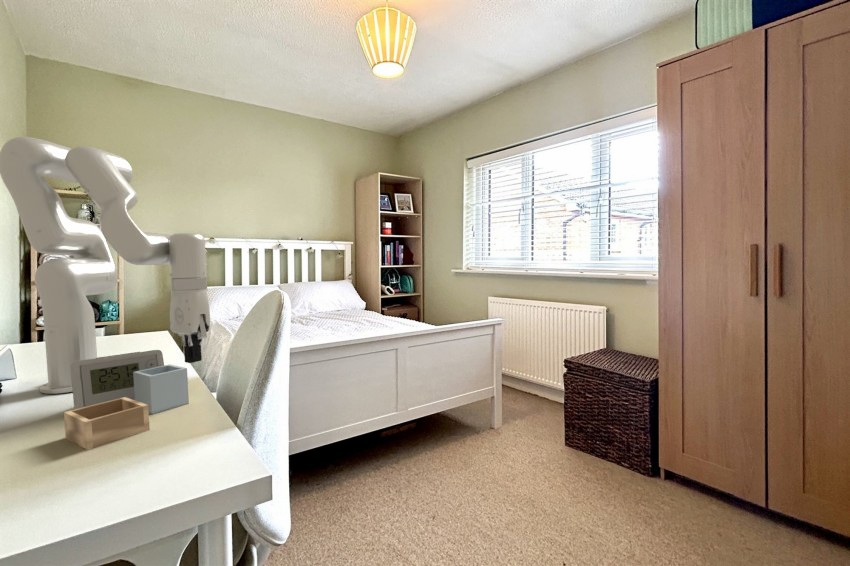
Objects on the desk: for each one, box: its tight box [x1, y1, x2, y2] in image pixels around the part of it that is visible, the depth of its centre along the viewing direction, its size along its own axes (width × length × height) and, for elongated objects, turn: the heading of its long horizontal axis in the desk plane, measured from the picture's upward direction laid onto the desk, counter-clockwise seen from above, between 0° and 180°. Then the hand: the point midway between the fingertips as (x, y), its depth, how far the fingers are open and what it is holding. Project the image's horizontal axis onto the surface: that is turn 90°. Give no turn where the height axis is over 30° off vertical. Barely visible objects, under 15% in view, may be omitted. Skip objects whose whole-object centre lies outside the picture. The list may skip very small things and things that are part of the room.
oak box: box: [63, 397, 151, 451], centre depth 72 cm, size 9×9×5 cm
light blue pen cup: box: [133, 364, 190, 415], centre depth 86 cm, size 7×7×8 cm
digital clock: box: [71, 349, 165, 410], centre depth 89 cm, size 16×9×11 cm, turn 123°
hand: (193, 361), depth 101 cm, fingers closed
